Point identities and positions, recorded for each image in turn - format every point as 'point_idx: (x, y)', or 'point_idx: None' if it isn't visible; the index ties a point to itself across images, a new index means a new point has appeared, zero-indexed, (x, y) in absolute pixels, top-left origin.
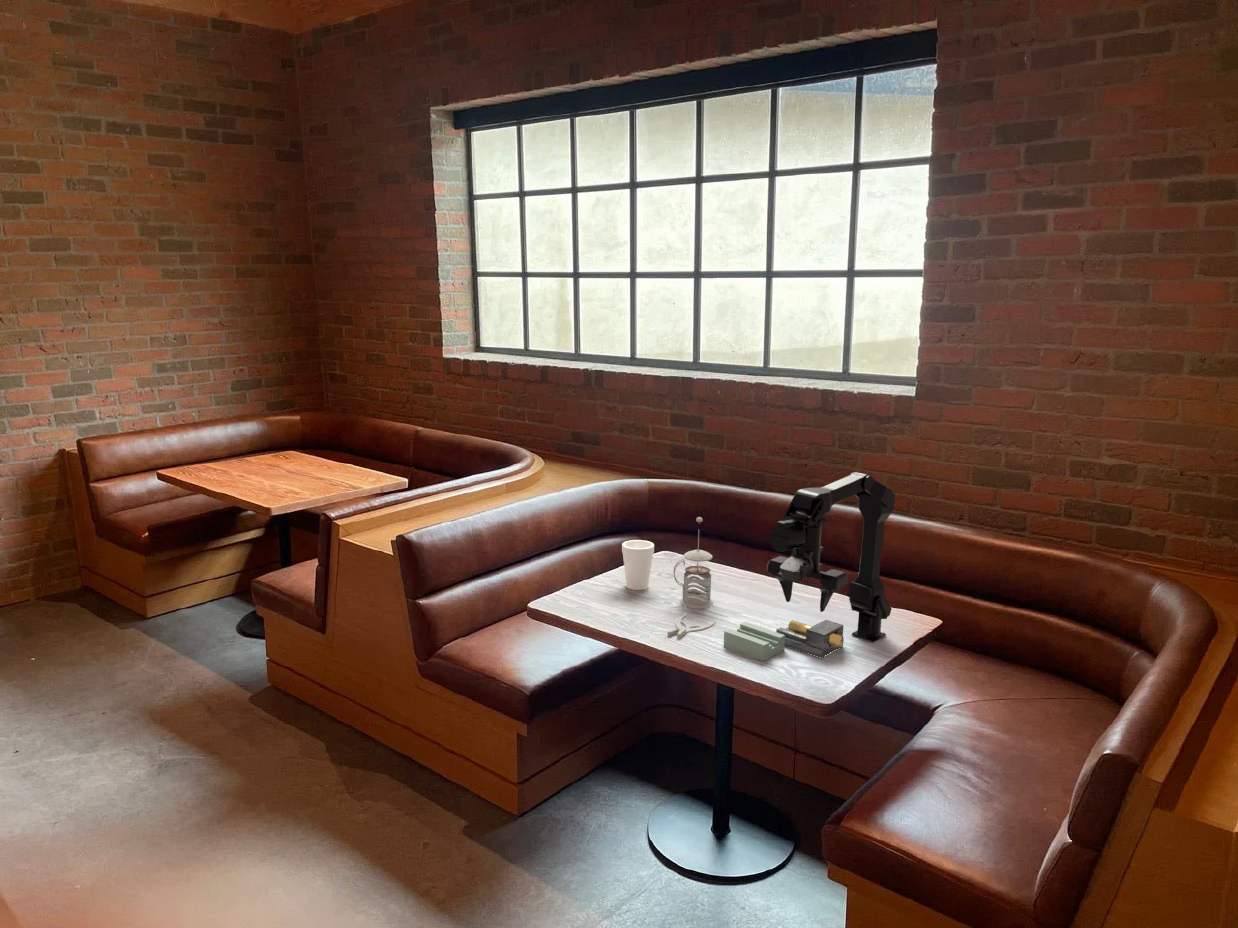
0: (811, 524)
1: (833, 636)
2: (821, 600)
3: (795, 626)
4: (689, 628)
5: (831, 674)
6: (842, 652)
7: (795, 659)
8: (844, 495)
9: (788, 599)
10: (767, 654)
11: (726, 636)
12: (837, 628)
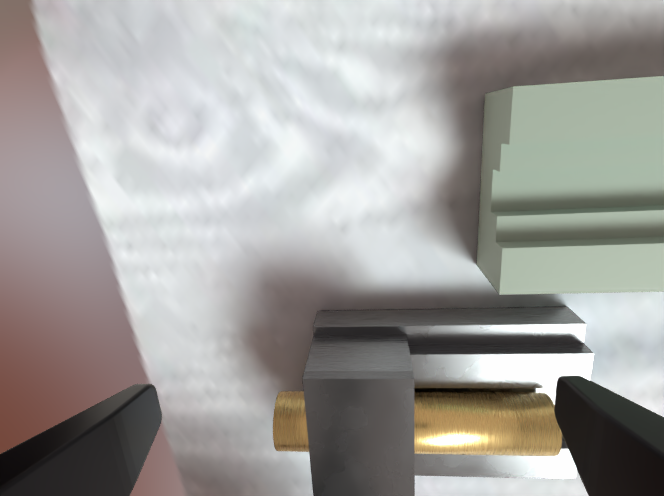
0: None
1: (300, 421)
2: (13, 469)
3: (515, 412)
4: None
5: (197, 214)
6: None
7: (385, 224)
8: None
9: (570, 402)
10: (489, 127)
11: None
12: (312, 482)
